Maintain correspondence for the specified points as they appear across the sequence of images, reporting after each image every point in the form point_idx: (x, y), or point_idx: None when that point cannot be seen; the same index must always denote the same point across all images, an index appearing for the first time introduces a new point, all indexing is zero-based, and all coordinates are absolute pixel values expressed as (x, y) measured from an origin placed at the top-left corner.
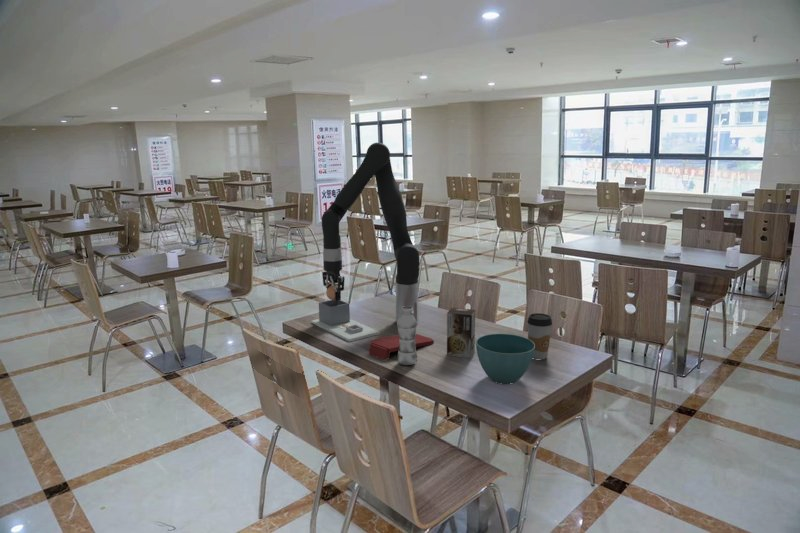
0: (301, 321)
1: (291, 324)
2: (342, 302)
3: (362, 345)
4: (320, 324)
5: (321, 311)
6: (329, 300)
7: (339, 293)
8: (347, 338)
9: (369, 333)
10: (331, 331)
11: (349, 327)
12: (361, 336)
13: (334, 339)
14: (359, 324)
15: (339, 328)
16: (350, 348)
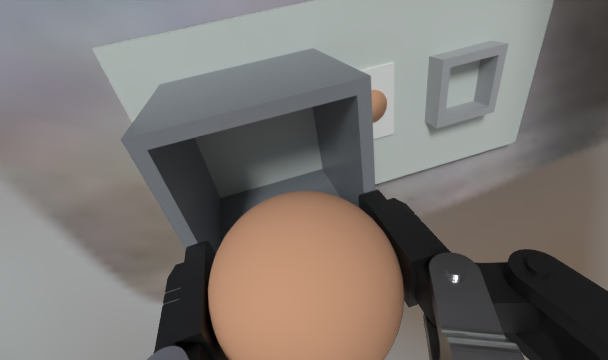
0: (154, 265)
1: None
2: (262, 115)
3: (569, 102)
4: None
5: None
6: (176, 224)
7: (431, 250)
8: (503, 145)
9: (541, 21)
10: (382, 179)
11: (442, 108)
12: (530, 78)
13: (446, 180)
14: (392, 5)
15: (382, 142)
16: (549, 151)
